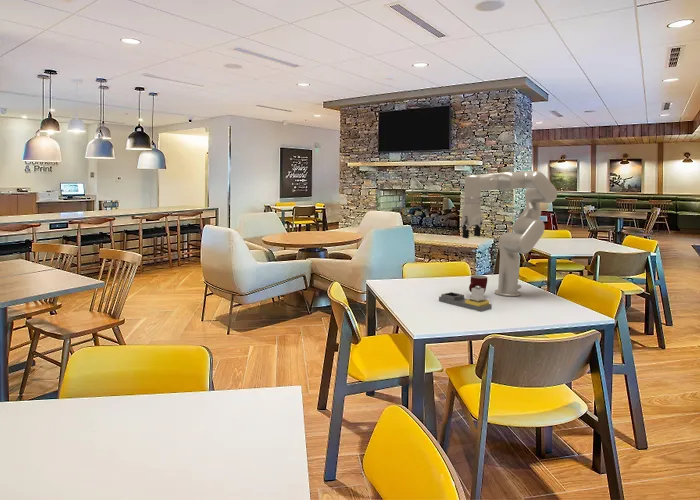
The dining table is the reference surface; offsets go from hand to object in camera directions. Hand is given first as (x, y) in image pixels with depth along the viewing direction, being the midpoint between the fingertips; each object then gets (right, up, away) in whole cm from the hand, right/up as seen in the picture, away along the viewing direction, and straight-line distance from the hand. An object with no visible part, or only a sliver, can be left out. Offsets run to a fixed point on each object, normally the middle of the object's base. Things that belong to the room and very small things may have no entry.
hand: (471, 237), depth 238 cm
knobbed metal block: (-1, -31, -13) cm, 33 cm away
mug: (+5, -30, +9) cm, 31 cm away
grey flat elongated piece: (-5, -32, -7) cm, 33 cm away
